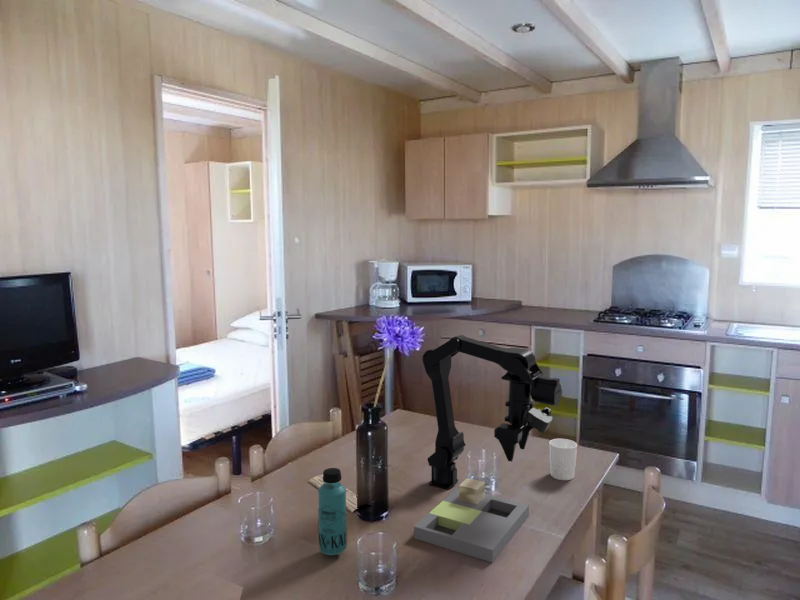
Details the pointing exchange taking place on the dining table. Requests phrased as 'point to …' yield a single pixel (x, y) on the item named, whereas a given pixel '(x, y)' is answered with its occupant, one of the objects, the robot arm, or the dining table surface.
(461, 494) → the maple block
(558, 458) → the white cup
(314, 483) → the newspaper
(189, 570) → the dining table surface
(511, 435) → the robot arm
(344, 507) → the beverage bottle
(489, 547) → the trap deck
